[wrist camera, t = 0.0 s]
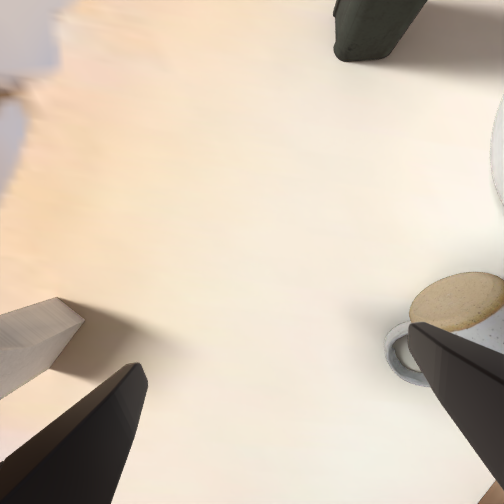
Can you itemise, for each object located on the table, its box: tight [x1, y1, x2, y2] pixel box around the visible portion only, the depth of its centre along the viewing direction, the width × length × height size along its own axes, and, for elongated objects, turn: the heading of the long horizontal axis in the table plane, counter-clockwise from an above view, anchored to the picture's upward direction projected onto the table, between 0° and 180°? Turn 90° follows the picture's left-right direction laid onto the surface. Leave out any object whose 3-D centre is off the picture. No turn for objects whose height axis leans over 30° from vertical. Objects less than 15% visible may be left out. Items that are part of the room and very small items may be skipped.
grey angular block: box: [0, 297, 85, 400], centre depth 20 cm, size 4×7×10 cm, turn 142°
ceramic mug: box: [384, 272, 504, 387], centre depth 20 cm, size 11×8×8 cm
